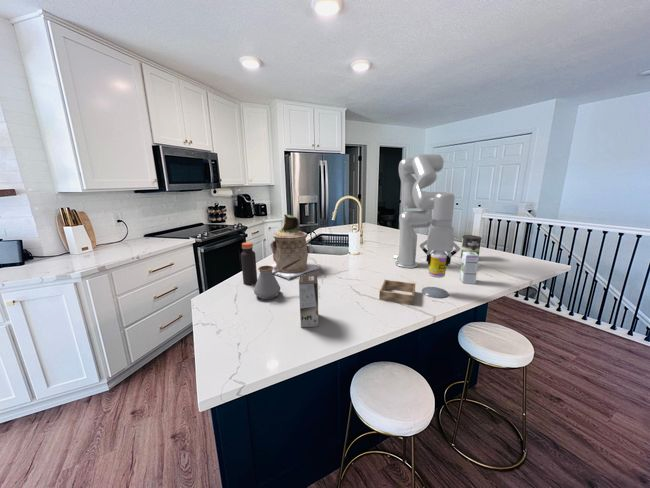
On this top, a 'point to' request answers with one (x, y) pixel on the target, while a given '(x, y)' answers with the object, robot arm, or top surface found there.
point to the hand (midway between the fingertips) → (437, 264)
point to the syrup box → (469, 267)
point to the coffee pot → (268, 282)
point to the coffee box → (308, 300)
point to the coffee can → (470, 244)
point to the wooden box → (397, 296)
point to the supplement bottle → (437, 264)
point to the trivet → (435, 292)
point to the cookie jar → (290, 250)
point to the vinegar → (248, 264)
